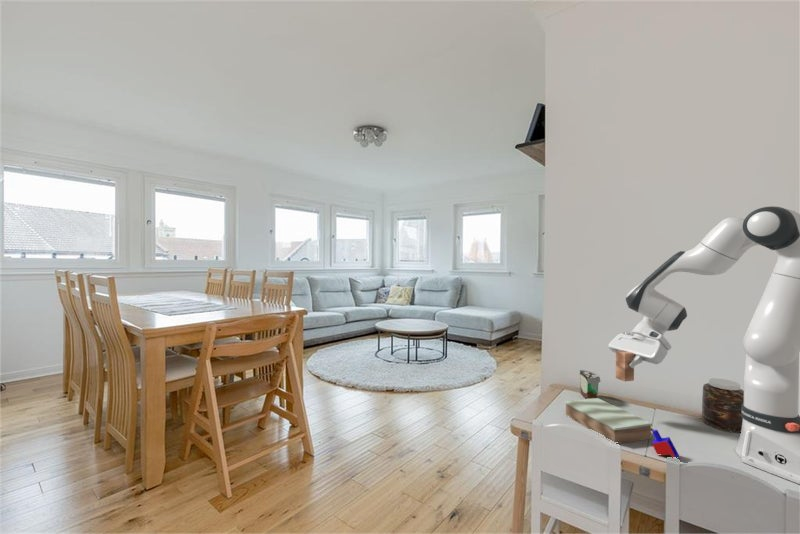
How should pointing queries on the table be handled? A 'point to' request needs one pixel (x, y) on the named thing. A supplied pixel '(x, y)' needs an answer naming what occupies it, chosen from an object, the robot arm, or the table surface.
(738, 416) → the jar
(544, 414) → the table surface
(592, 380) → the food container
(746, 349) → the robot arm
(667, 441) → the toy building block
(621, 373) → the tall block
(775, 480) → the table surface
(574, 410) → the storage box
